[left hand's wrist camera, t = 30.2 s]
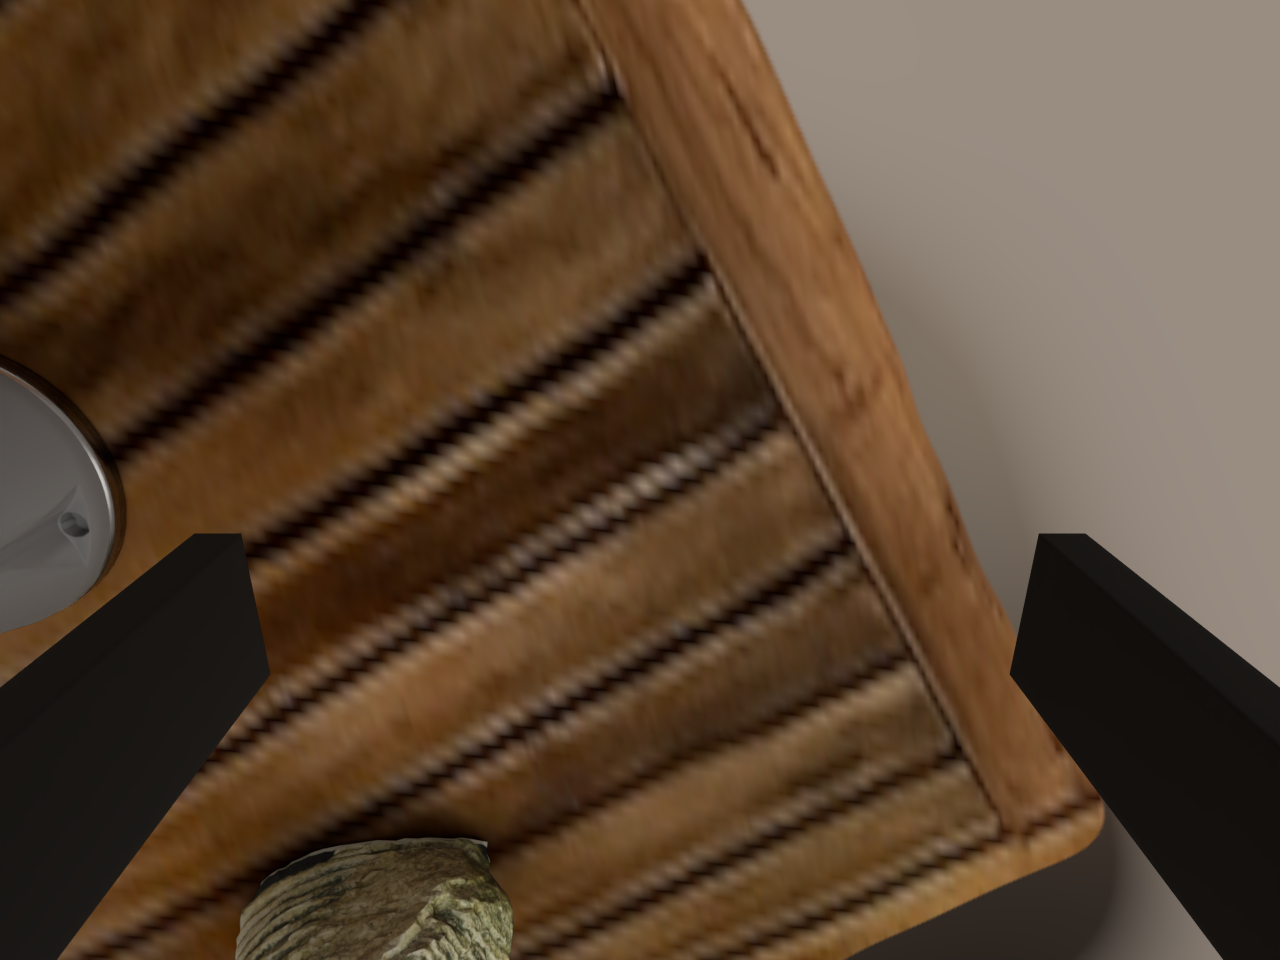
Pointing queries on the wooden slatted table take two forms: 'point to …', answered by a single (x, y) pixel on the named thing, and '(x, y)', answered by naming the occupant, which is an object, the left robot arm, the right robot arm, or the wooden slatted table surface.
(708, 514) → the wooden slatted table surface
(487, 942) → the fossil
